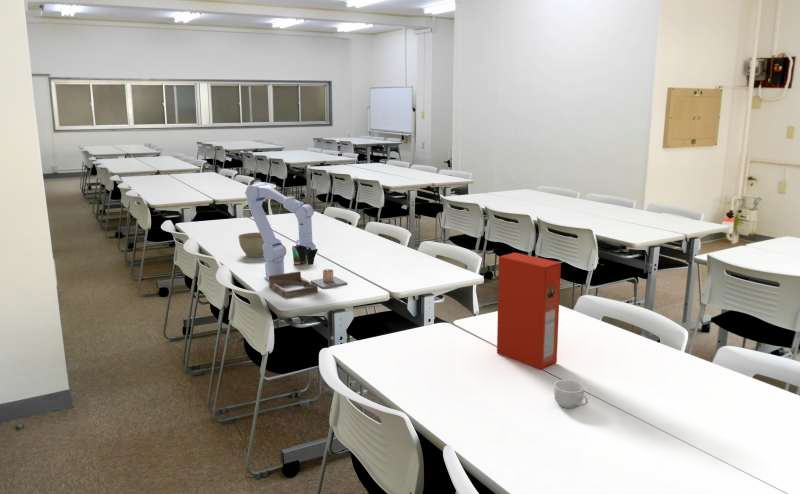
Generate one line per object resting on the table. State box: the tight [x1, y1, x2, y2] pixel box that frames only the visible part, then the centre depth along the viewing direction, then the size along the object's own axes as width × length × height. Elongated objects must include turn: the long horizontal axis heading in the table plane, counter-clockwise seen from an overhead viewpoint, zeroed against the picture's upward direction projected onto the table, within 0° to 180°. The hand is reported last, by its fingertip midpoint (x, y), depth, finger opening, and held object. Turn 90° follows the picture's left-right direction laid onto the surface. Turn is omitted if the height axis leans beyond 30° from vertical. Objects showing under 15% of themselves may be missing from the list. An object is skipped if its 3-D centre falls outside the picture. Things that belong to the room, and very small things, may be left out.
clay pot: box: [322, 268, 334, 283], centre depth 283 cm, size 5×5×5 cm
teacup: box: [553, 379, 589, 409], centre depth 169 cm, size 10×8×5 cm
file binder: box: [496, 252, 562, 371], centre depth 197 cm, size 8×17×32 cm, turn 40°
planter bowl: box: [238, 232, 264, 258], centre depth 334 cm, size 16×16×11 cm
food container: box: [291, 244, 308, 266], centre depth 317 cm, size 12×6×10 cm, turn 168°
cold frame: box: [268, 270, 319, 299], centre depth 274 cm, size 18×14×5 cm
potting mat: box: [310, 275, 348, 290], centre depth 283 cm, size 12×12×1 cm
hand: (306, 262), depth 281 cm, fingers open, 7 cm apart
